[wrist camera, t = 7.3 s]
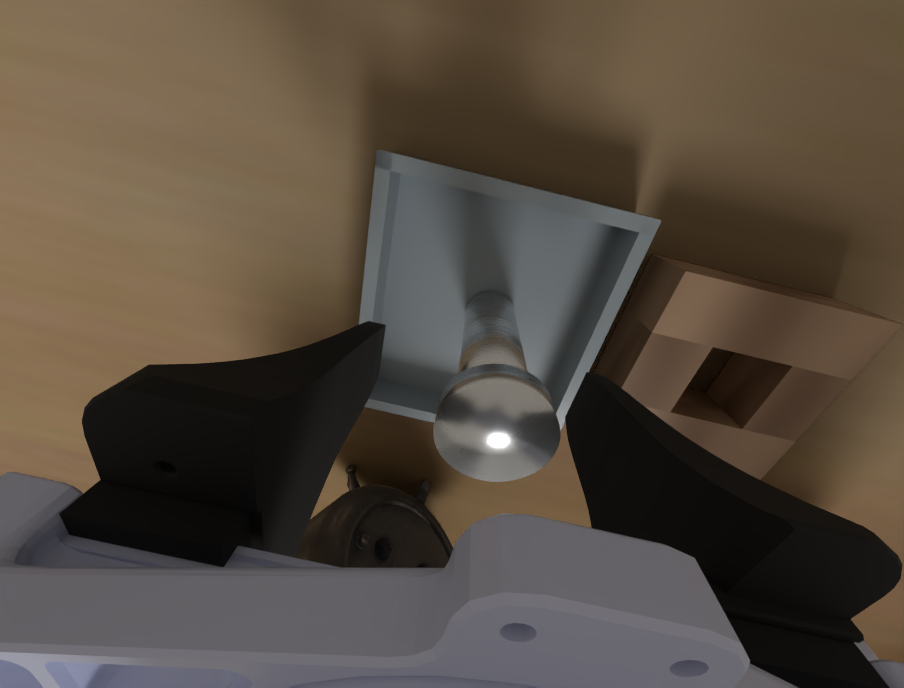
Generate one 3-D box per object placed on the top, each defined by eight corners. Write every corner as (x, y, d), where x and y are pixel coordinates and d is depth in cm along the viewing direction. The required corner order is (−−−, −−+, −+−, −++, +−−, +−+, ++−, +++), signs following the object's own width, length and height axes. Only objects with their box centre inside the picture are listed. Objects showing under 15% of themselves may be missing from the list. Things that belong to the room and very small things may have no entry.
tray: (635, 212, 15) (661, 220, 13) (544, 419, 21) (551, 449, 19) (392, 152, 15) (376, 149, 13) (364, 378, 20) (350, 403, 18)
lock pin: (533, 288, 17) (580, 401, 9) (512, 349, 18) (536, 492, 10) (464, 272, 16) (447, 370, 8) (449, 334, 18) (423, 467, 10)
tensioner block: (834, 299, 16) (903, 324, 14) (724, 439, 20) (760, 480, 18) (651, 254, 16) (685, 271, 13) (577, 405, 20) (592, 441, 17)
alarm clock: (323, 466, 24) (87, 908, 10) (372, 428, 22) (168, 909, 8) (433, 545, 27) (377, 970, 13) (484, 518, 25) (488, 983, 11)
